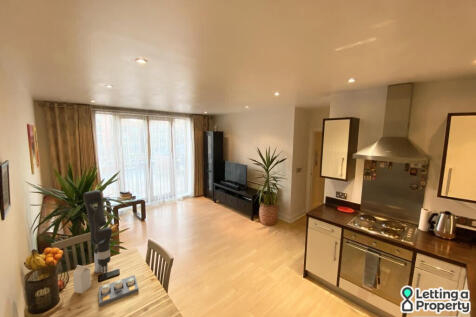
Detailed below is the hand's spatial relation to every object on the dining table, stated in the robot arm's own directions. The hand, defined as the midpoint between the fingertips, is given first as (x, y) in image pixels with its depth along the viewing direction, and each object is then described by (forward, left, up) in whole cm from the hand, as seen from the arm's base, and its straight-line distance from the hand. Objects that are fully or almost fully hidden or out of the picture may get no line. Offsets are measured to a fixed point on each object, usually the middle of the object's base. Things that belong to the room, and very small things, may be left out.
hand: (104, 278), depth 140 cm
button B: (0, +8, -11) cm, 13 cm away
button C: (0, +16, -13) cm, 21 cm away
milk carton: (-17, -14, -14) cm, 26 cm away
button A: (0, 0, -11) cm, 11 cm away
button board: (0, +8, -14) cm, 16 cm away
